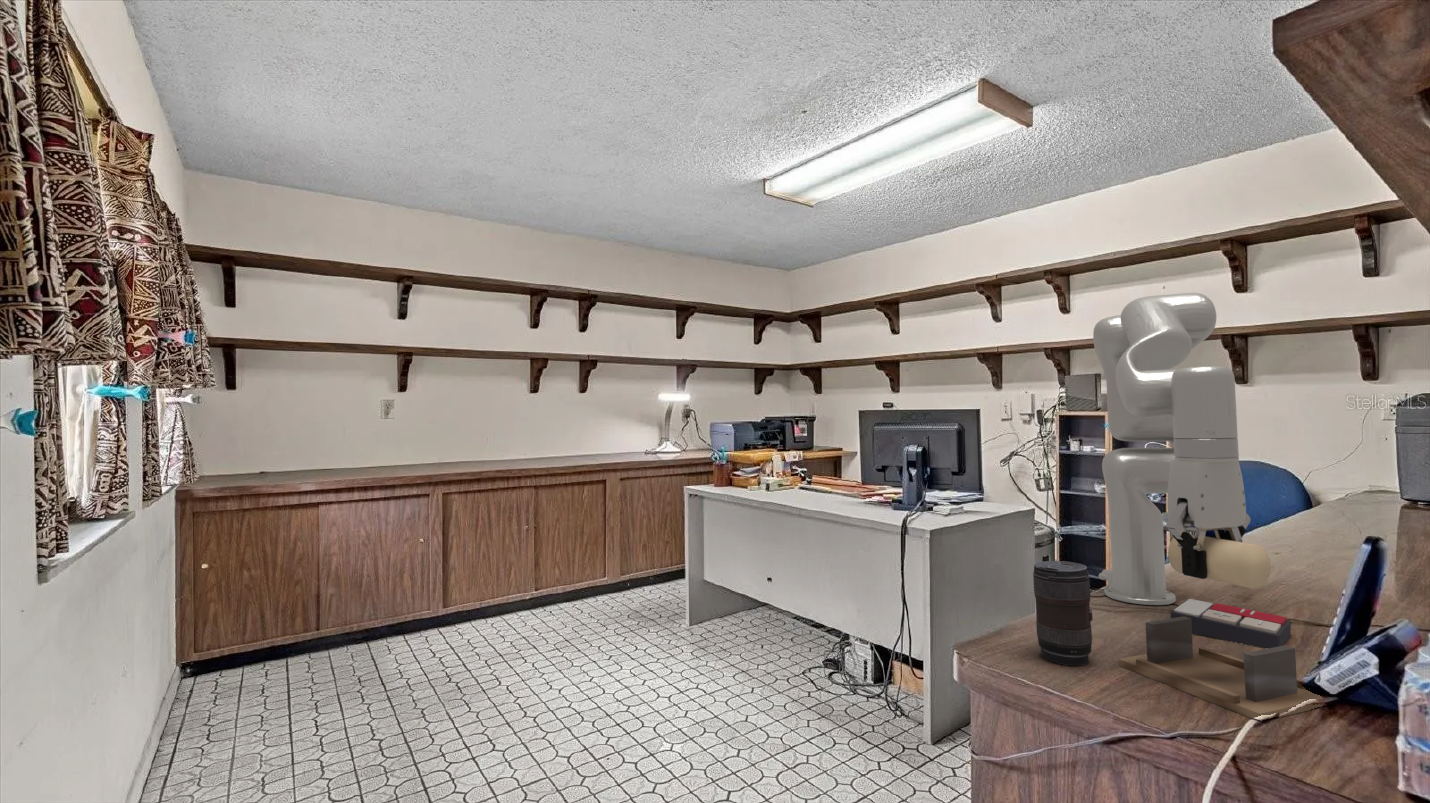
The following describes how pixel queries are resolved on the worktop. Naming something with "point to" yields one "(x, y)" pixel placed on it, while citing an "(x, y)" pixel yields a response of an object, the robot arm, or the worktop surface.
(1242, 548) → the beige cylinder
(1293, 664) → the roll holder
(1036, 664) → the worktop surface
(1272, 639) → the calculator
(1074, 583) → the camera lens
